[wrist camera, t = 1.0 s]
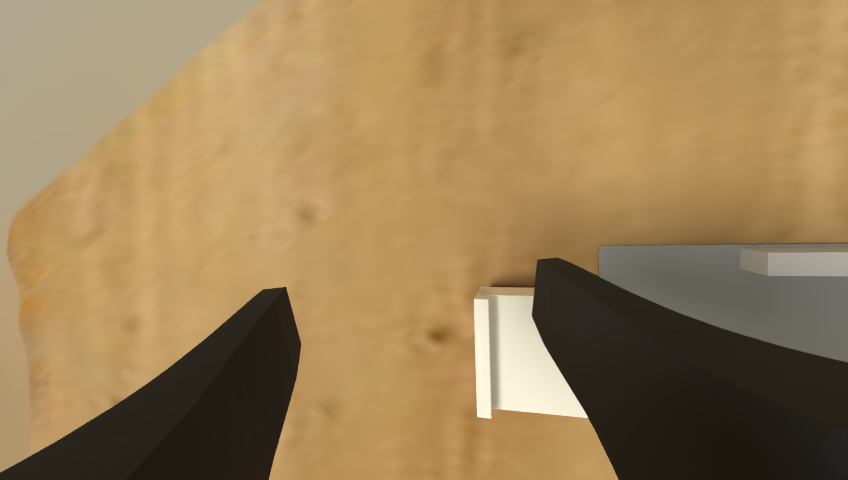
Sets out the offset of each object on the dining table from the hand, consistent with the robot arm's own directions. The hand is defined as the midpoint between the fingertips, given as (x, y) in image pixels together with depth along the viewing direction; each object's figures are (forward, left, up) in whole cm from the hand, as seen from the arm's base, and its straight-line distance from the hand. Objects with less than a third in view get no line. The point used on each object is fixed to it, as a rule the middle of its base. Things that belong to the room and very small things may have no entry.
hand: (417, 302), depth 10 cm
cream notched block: (-6, -4, -16) cm, 17 cm away
